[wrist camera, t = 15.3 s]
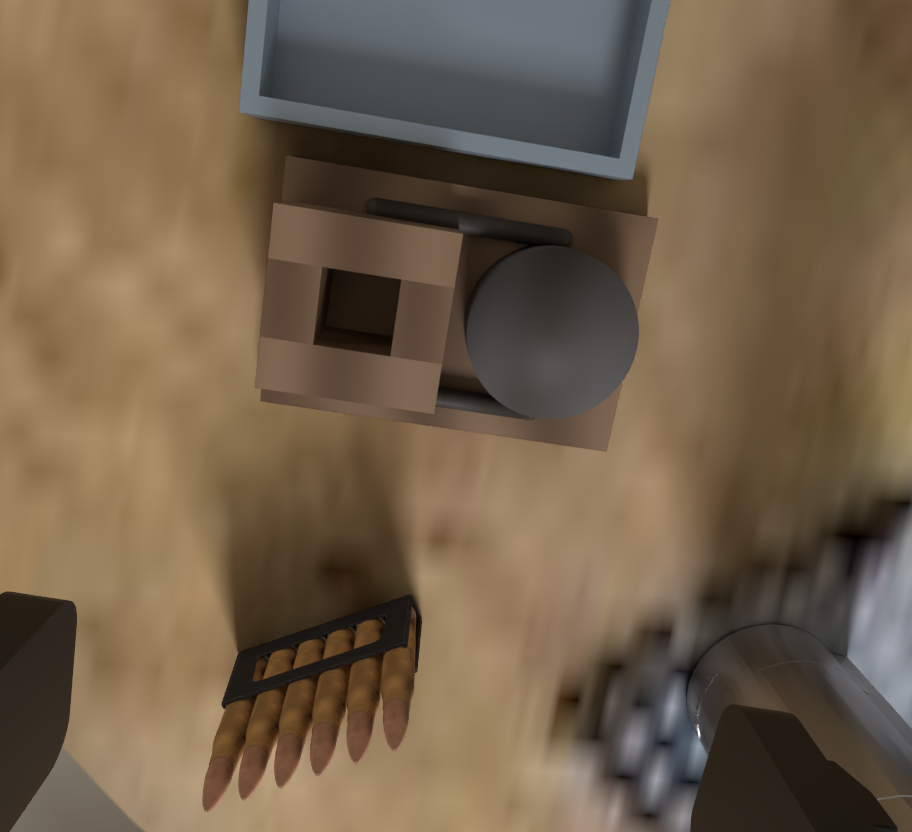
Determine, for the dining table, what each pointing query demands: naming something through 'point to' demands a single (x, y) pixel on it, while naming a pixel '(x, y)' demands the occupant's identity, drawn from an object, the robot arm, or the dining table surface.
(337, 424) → the dining table surface
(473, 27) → the tray
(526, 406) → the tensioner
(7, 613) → the robot arm
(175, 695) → the dining table surface
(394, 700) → the ammunition clip
